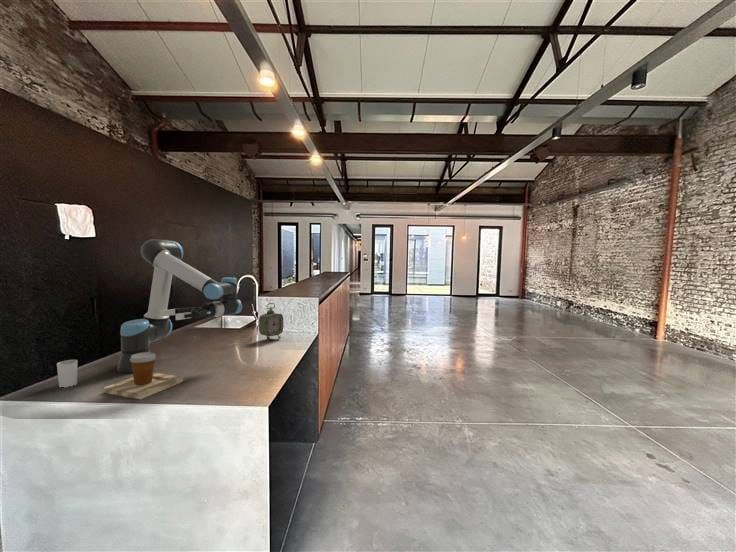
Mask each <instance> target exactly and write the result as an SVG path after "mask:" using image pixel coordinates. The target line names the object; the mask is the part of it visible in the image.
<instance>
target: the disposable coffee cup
mask: <svg viewBox="0 0 736 552" xmlns="http://www.w3.org/2000/svg"><path fill="white" fill-rule="evenodd" d="M156 358H157V355H156V353H155V352H152V351H150V352H144V353H137V354H134V355H132V356H131V358H130V361H131V364H132V371H133V372H132V375H133V377H134V383H135V385H144V384H148V383H151V382H152V377H153V373H154V369H155V362H156ZM133 377H132V378H133Z"/></svg>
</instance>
